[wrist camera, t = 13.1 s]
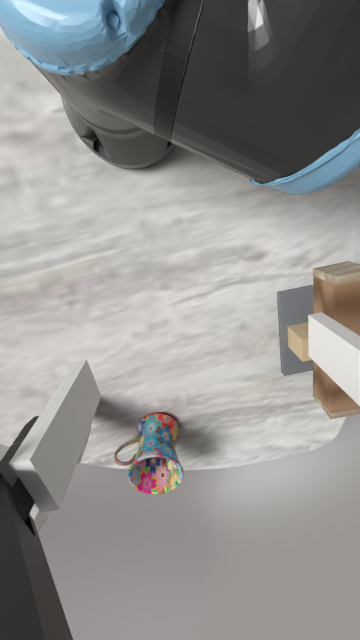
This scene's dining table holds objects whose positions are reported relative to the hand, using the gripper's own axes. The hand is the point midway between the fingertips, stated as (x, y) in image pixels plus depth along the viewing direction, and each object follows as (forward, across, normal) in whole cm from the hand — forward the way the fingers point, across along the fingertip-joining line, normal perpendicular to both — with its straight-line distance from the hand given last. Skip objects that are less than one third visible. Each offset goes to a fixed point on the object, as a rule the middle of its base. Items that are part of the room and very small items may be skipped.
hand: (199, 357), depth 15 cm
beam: (+20, +20, -13) cm, 32 cm away
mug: (+27, -12, -30) cm, 42 cm away
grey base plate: (+27, +20, -15) cm, 37 cm away
